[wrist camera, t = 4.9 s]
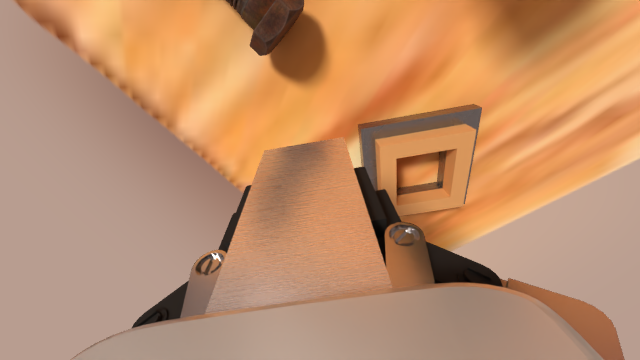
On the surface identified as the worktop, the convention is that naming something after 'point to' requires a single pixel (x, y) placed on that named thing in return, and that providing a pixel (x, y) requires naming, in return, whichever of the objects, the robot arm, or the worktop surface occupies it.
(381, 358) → the robot arm
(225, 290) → the block
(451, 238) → the worktop surface
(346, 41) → the worktop surface
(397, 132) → the square socket base
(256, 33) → the bolt
